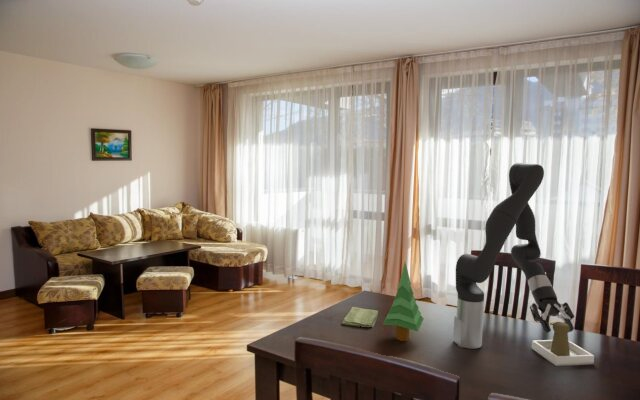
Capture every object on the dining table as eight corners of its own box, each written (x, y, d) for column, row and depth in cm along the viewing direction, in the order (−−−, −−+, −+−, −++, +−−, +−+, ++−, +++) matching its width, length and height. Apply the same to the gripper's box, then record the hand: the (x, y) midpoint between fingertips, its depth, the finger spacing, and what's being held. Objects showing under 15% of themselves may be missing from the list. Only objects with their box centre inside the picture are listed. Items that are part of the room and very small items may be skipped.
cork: (572, 357, 151) (574, 326, 151) (553, 356, 153) (554, 325, 152) (566, 350, 157) (567, 320, 156) (548, 349, 158) (549, 319, 158)
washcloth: (340, 326, 180) (341, 318, 180) (351, 312, 197) (351, 305, 197) (372, 330, 176) (372, 322, 176) (380, 315, 193) (380, 308, 193)
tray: (556, 366, 147) (556, 357, 147) (531, 348, 160) (532, 340, 160) (593, 364, 149) (594, 355, 148) (566, 347, 162) (566, 339, 162)
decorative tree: (378, 342, 164) (380, 262, 161) (392, 328, 178) (394, 254, 175) (414, 350, 158) (417, 267, 155) (425, 335, 171) (428, 259, 169)
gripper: (528, 285, 162) (546, 327, 151) (564, 284, 163) (584, 326, 153) (519, 295, 167) (536, 336, 157) (554, 294, 169) (572, 335, 159)
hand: (560, 331), depth 155 cm, fingers open, 8 cm apart
